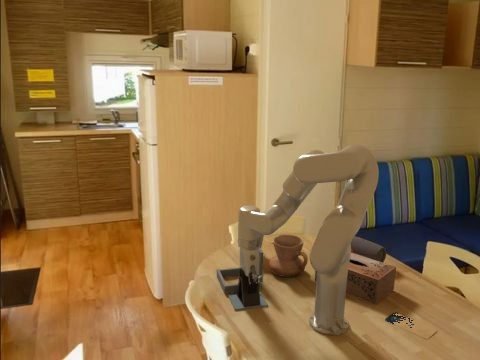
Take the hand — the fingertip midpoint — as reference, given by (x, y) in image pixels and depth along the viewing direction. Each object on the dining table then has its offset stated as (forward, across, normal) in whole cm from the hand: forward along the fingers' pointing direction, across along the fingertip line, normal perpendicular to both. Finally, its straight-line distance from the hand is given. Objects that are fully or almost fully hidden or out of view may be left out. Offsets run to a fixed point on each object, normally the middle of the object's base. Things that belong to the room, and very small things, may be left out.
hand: (248, 286), depth 161 cm
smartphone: (+7, -27, -48) cm, 55 cm away
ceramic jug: (+6, +18, -22) cm, 29 cm away
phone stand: (+6, 0, 0) cm, 6 cm away
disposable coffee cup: (+6, +38, -13) cm, 41 cm away
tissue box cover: (+6, +2, -43) cm, 43 cm away
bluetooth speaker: (+6, +23, -55) cm, 60 cm away
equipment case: (+6, +14, 0) cm, 15 cm away
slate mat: (+6, 0, 0) cm, 6 cm away
